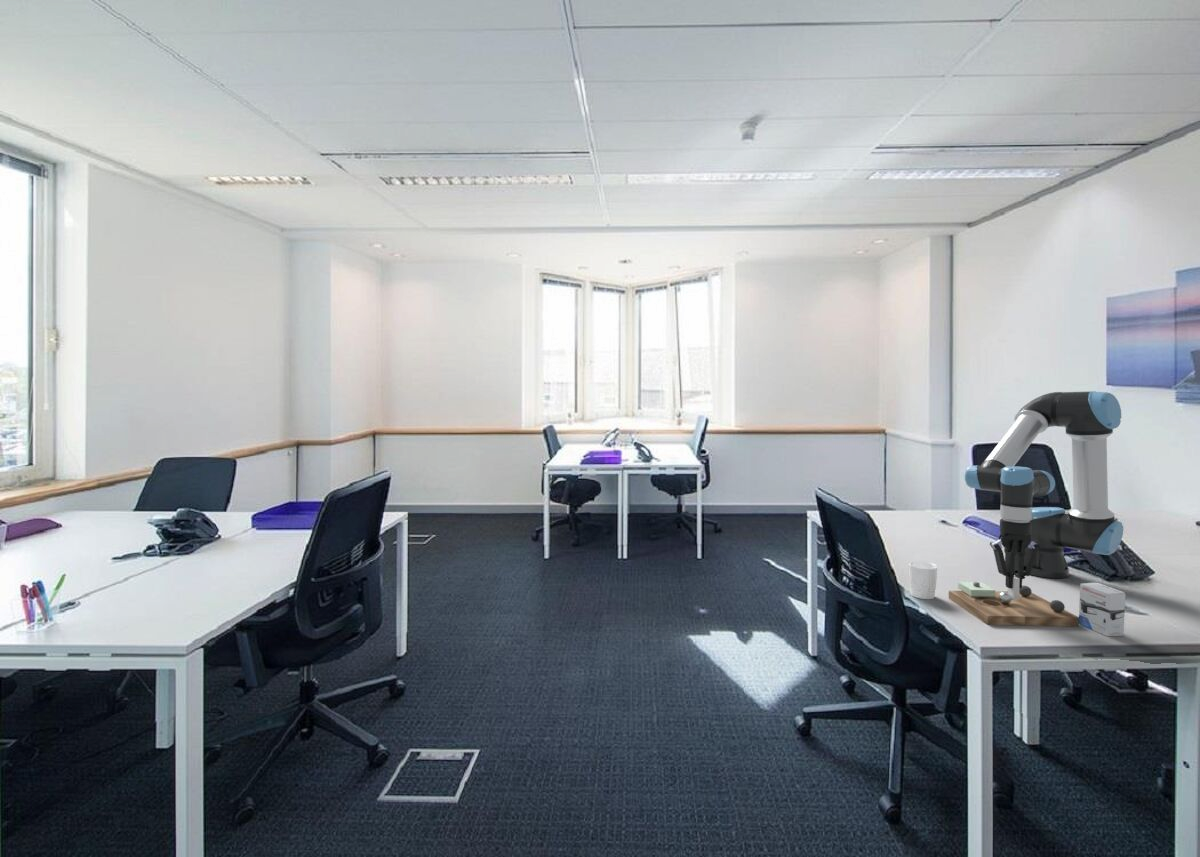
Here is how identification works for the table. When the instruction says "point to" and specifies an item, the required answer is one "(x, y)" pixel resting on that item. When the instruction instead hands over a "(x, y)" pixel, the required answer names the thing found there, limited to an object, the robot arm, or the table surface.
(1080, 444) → the robot arm
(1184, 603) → the table surface
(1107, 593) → the ink box
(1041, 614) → the wooden cutting board
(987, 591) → the mint green square lid
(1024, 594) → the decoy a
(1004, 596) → the steel ball
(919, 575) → the white cup
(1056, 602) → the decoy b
